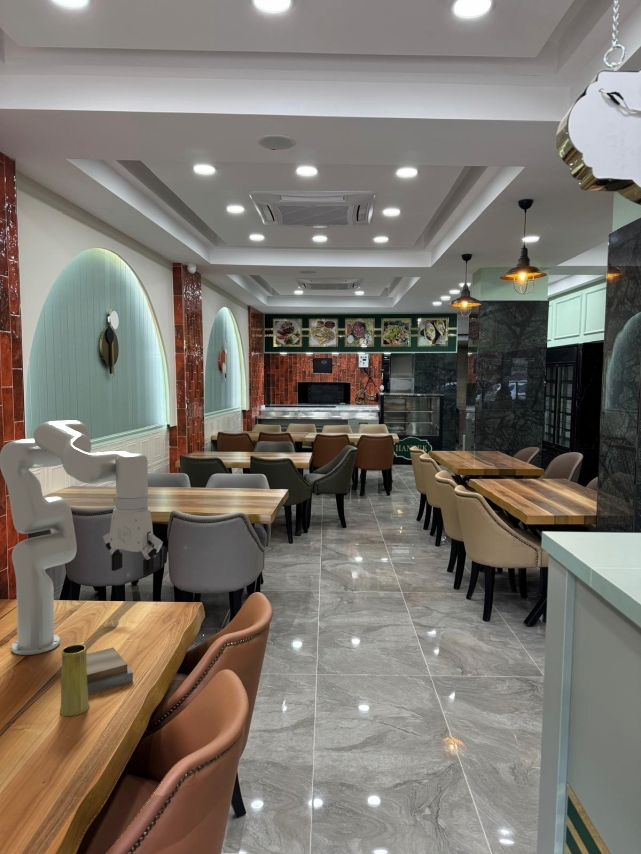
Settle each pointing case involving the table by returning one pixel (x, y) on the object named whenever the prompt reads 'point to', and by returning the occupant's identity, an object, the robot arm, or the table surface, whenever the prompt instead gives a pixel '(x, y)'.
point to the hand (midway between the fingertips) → (132, 571)
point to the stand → (106, 670)
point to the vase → (74, 681)
